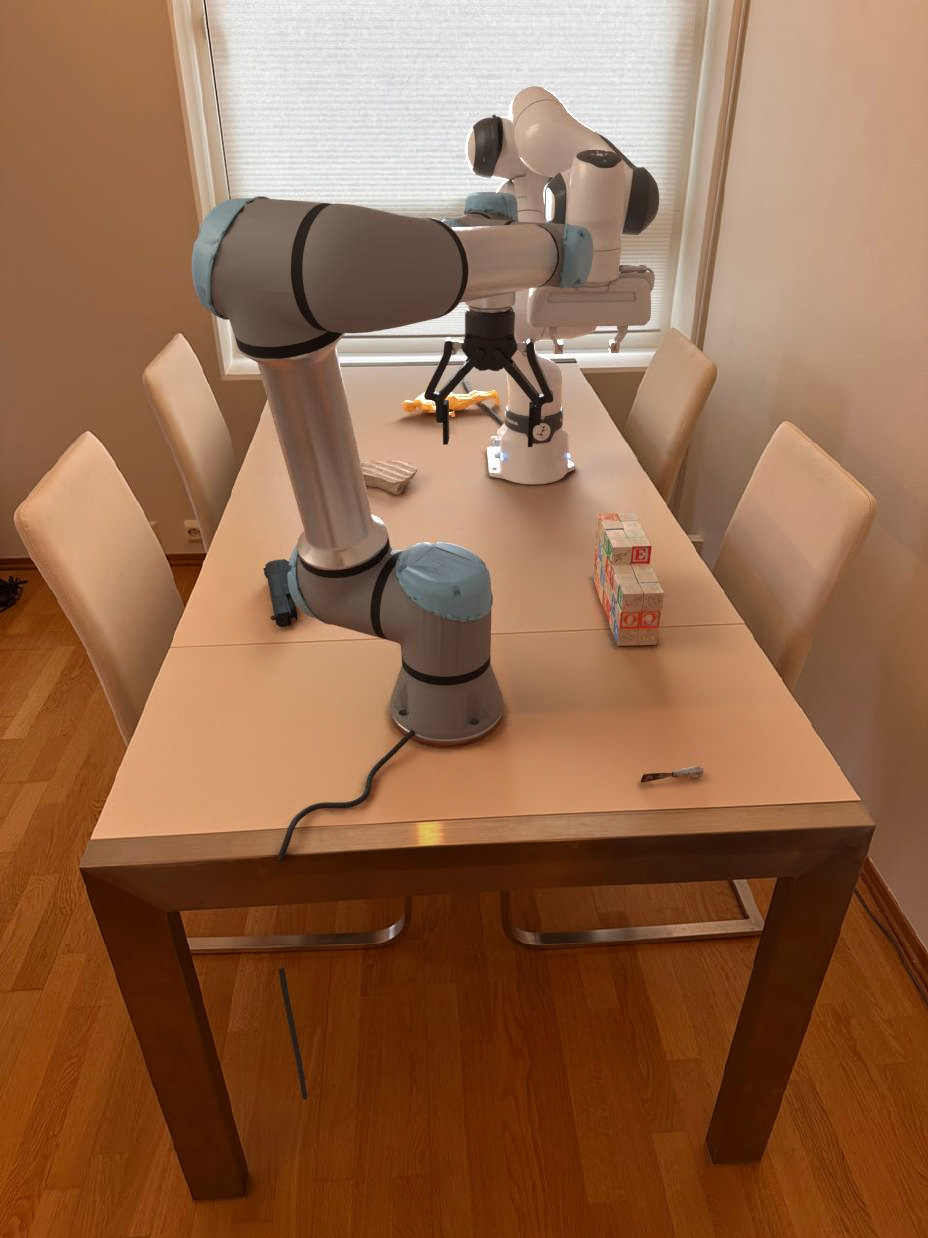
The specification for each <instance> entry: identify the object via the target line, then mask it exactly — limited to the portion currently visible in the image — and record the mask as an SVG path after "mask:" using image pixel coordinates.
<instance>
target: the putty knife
mask: <svg viewBox="0 0 928 1238" xmlns="http://www.w3.org/2000/svg"><path fill="white" fill-rule="evenodd" d="M704 772H705V771H704V768H702V767H701V766H697V765H695V766H688V767H683V768H679V769H675V770H673V771H671V772H653V773H652V772H651V773H650V772H649V773H644V774H642V776H641V779H640V783H642V784H645V783H648V782H653V781H659V780H665V779H668V778H673V779H674V778H675V779H693V778H694V779H695V778H700V777H702V776H703V775H704Z"/></svg>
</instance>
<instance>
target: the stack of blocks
mask: <svg viewBox="0 0 928 1238" xmlns="http://www.w3.org/2000/svg"><path fill="white" fill-rule="evenodd" d="M594 544H595V545H594V546H595V551H594V563H593V574H592V575H593V576H592V577H593V578H592V579H593V581H594V585H595V589H596V592H597V595H598V598H599V600H600V601H599V602H600V603H601V605H602V607H603V610H604V613H605V615H606V617H607V621H608V623H609V624H608V625H609V628H610V631H611V633H612V635H613V639H614V641H615V644H616V646H617V647H619V646H620V647H621V646H627V647H628V646H655V645H657V642H658V636H659V635H658V633H659V628H660V623H661V622H660V621H661V614H662V610H663V607H664V606H663V605H664V597H665V591H664V588H662V586H661V583H660V581H659V579H658V577H657V575H656V573H655V571H654V568H653V567H652V565H651V564H650V563H651V556H652V544H651V542H650V540H649V538H648V537H647V535H646V533H645V532H644V529H643V526H642V525H641V523H640V521H639V518H638V516H637V514H636V513H635V512H622V513H621V512H617V513H597V516H596V532H595V543H594Z"/></svg>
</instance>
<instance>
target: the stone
mask: <svg viewBox="0 0 928 1238" xmlns="http://www.w3.org/2000/svg"><path fill="white" fill-rule="evenodd" d="M361 467H362V471H363V476H364V481H365V486H368V487H370V488H373V487H375V488H379V489H382V490H385V491H386V492H388V493H391V494H393V495H395V496H396V495H400V493H402V492H403V491H404V489H405V486H406V484H407V483H409V481H410V480H412V479H413V478H414V477H415V476H416V473H417V472H418V468H417V467H416V466H414V465H413V464H412V462H403V461H401V460H387V461H384V460H370V461H362V462H361Z"/></svg>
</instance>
